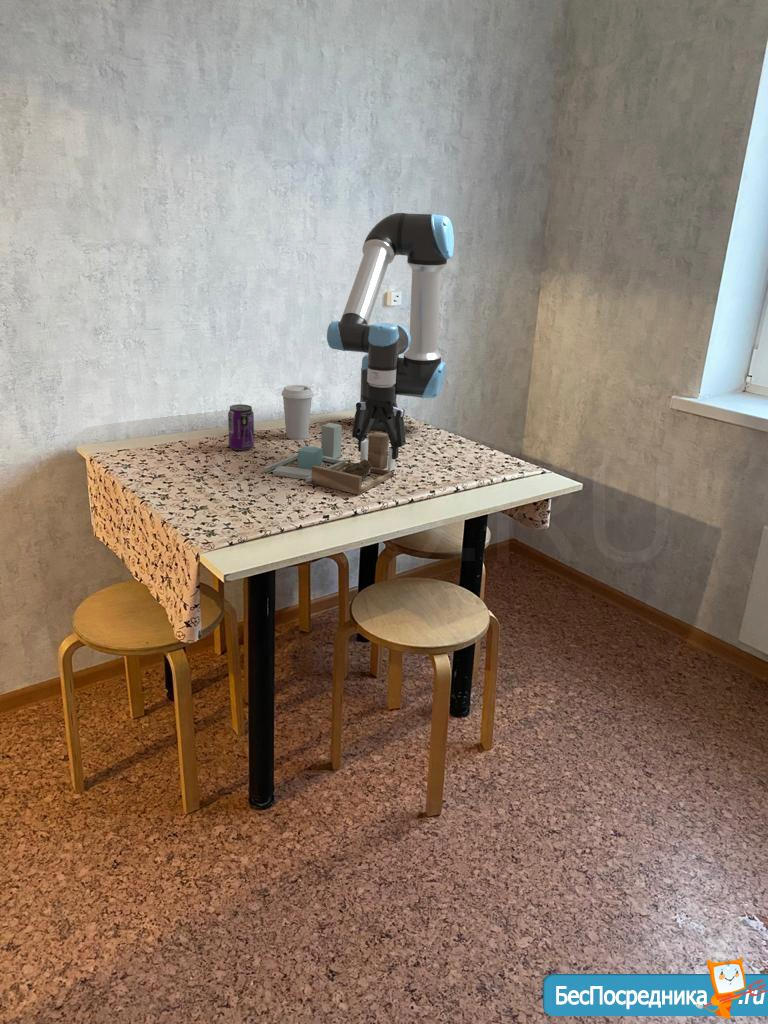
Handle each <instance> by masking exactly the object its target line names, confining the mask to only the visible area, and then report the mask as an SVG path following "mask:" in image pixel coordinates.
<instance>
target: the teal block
mask: <svg viewBox="0 0 768 1024" xmlns="http://www.w3.org/2000/svg"><path fill="white" fill-rule="evenodd" d="M297 454H298V459H297V468H302V469H309V470H312V466H314V465H315V466H319V467H323V460H322V448H321V447H316V446H310V445H304V446H303V447H301V448H300V449H298V450H297Z"/></svg>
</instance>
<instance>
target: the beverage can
mask: <svg viewBox="0 0 768 1024" xmlns="http://www.w3.org/2000/svg"><path fill="white" fill-rule="evenodd" d="M254 416H255V415H254V412H253V407H252V406H251V405H249V404H241V403H240V404H238V403H237V404H232V405H230V406H229V411H228V414H227V425H228V446H229V447H230V448H231V449H233V450H234V451H235V450H236V451H247V450H250V449H252V448H254V447H255V428H254V427H255V426H254V425H255V421H254V420H255V419H254V418H255V417H254Z"/></svg>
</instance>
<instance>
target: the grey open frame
mask: <svg viewBox="0 0 768 1024" xmlns="http://www.w3.org/2000/svg"><path fill="white" fill-rule="evenodd" d="M342 427H343V426H342V424H338V423H333V422H328V423H326V424H322V425H321V447H320V448H322V462H324V461H325V462H327V463H332V465H330V466H328V467H327V468H328V469H334V468H337V467H339V466H341V465H343V464H345V463H347V461H346V460H343V459H338V458H339V457H341V456H342V435H343V434H342V433H343V432H342V430H343V429H342ZM296 460H298V453H296V454H294V455H291V456H289V457H287V458H284V459H282V460H279V461H277V462H275V463H272V464H270V465H268V466H264V467H263V471H264V472H265V473H267V472H270V471H273V470H275V469H276V468H277V467H278V466H284V465H286V464H288V463H291V462H293V461H296ZM305 482H306V483H309V482H312V475H311V476H309V477H307V478H306V479H305Z"/></svg>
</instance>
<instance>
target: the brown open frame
mask: <svg viewBox="0 0 768 1024" xmlns="http://www.w3.org/2000/svg"><path fill="white" fill-rule="evenodd" d="M367 440H368V458H367V460H368V461H369V463H370V465H371V467H372V468H373V469H371V470H370V472H372V473H375V474H380V475H382V476H380V477H378V478H375V479H374V480H372V481H371V482H369V483H366V484H365V485H362V482H363V478H362V476H357V475H353V474H349V473H345V472H340V471H339V470H341V469H343V468H346V467H347V466H350V465H352V464H355V463H356V462H352V461H346V463H345V464H343V465H341V466H339V467H337V468H334V469H328V467H324V466H321V467H319V466H315V465H314V466H312V481H311V484H315V485H318V486H321V487H325V488H331V489H335V490H339V491H342V492H347V493H351V494H354V495H358V496H359V495H361V494H362V493H364V492H366V491H368V490H370V489H372V488H373V487H376V486H377V485H379V484H380V483H382V482H384V481H386V480H388V479H390V478H391V476H392V477H394V476H395V475H394V474H395V471H394V470H392V471H388V469H385V468H388V454H389V444H390V443H389V442H390V440H389V437H388V433H382V432H377V431H376V432H373V433H371V434H368V439H367Z"/></svg>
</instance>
